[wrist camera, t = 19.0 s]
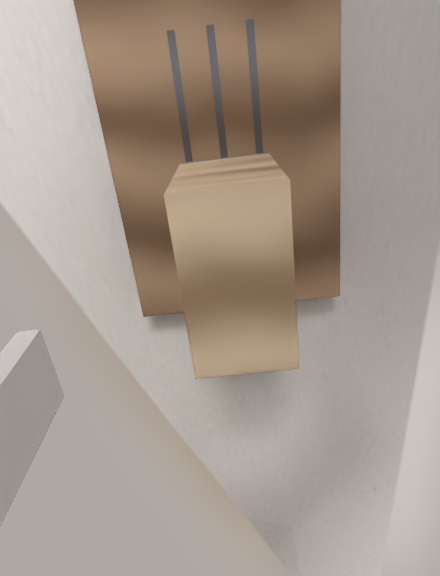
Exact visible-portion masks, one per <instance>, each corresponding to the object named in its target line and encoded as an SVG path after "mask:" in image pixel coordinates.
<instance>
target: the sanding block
mask: <svg viewBox="0 0 440 576" xmlns="http://www.w3.org/2000/svg"><path fill="white" fill-rule="evenodd" d="M164 200H165V206H166V211H167V217H168V223H169V229H170V234H171V240H172V246H173V251H174V257H175V263H176V269H177V274H178V280H179V286H180V292H181V297H182V303H183V309H184V315H185V320H186V326H187V332H188V337H189V343H190V349H191V355H192V360H193V366H194V372H195V378H196V379H197V378H207V377H218V376H228V375H238V374H249V373H259V372H269V371H279V370H290V369H299V362H298V340H297V318H296V296H295V274H294V252H293V230H292V208H291V186H290V179H289V178H288V176H287V175H286V174H285V173H284V171H283V170H282V169H281V168H280V166H279V165H278V164H277V163H276V161H275V160H274V159H273V157H272V156H271V155H270V154H269V152H266V153H258V154H249V155H241V156H233V157H225V158H217V159H208V160H200V161H192V162H184V163H180V164H179V166H178V168H177V170H176V172H175V174H174V176H173V178H172V180H171V182H170V184H169V186H168V188H167V189H166V191H165V193H164Z"/></svg>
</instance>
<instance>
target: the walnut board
mask: <svg viewBox="0 0 440 576" xmlns="http://www.w3.org/2000/svg"><path fill="white" fill-rule="evenodd" d="M74 5H75V9H76V14H77V18H78V23H79V27H80V32H81V36H82V41H83V45H84V50H85V54H86V59H87V63H88V68H89V72H90V77H91V81H92V86H93V90H94V95H95V99H96V104H97V108H98V113H99V117H100V122H101V126H102V131H103V135H104V140H105V144H106V149H107V153H108V158H109V162H110V167H111V171H112V176H113V180H114V185H115V189H116V194H117V198H118V203H119V208H120V212H121V217H122V221H123V226H124V230H125V235H126V239H127V244H128V248H129V253H130V257H131V262H132V266H133V271H134V275H135V280H136V284H137V289H138V293H139V298H140V302H141V307H142V311H143V316H144V317H146V316H155V315H165V314H174V313H184V309H183V303H182V297H181V292H180V286H179V280H178V274H177V269H176V263H175V257H174V251H173V246H172V240H171V234H170V229H169V223H168V217H167V211H166V206H165V200H164V193H165V191H166V189H167V188H168V186H169V184H170V182H171V180H172V178H173V176H174V174H175V172H176V170H177V168H178V166H179V164H180V163H184V162H192V161H200V160H208V159H217V158H225V157H233V156H241V155H249V154H258V153H266V152H269V154H270V155H271V156H272V157H273V159H274V160H275V161H276V163H277V164H278V165H279V166H280V168H281V169H282V170H283V171H284V173H285V174H286V175H287V176H288V178H289V179H290V186H291V208H292V230H293V252H294V274H295V296H296V301H297V300H307V299H316V298H326V297H335V296H340V27H341V0H74Z"/></svg>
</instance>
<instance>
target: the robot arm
mask: <svg viewBox="0 0 440 576" xmlns="http://www.w3.org/2000/svg"><path fill="white" fill-rule="evenodd" d="M63 397H64V394H63V391H62V388H61V385H60V383H59V380H58V377H57V374H56V372H55V369H54V366H53V364H52V361H51V358H50V355H49V353H48V350H47V347H46V344H45V342H44V339H43V336H42V333H41V330H30V331H20V332H17V333H16V334H15V335H14V336H13V338H12V339H11V341H10V342H9V343H8V344H7V345H6V346H5V348H4V349H3V350H2V351H1V353H0V526H1V524H2V522H3V520H4V518H5V516H6V514H7V512H8V510H9V507H10V506H11V503H12V501H13V499H14V497H15V495H16V493H17V491H18V489H19V487H20V485H21V483H22V481H23V479H24V477H25V475H26V473H27V471H28V469H29V467H30V465H31V463H32V461H33V458H34V457H35V454H36V452H37V450H38V448H39V446H40V444H41V442H42V440H43V438H44V436H45V434H46V432H47V430H48V428H49V426H50V424H51V422H52V420H53V418H54V415H55V414H56V412H57V409H58V407H59V405H60V403H61V401H62V399H63Z"/></svg>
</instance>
